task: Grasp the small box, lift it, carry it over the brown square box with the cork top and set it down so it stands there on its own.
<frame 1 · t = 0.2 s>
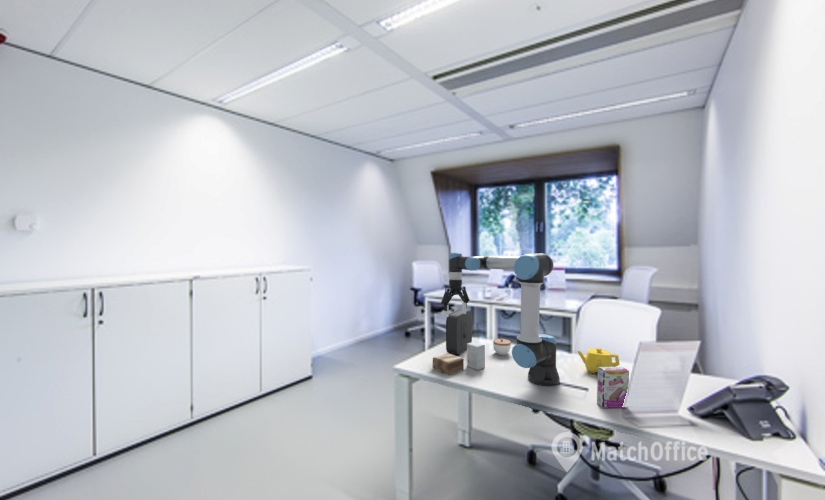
hand: (455, 315, 205), 27 cm above the table, fingers open, 13 cm apart
candy bar box: (612, 406, 150), on the table
small box: (475, 367, 196), on the table
teapot: (598, 373, 187), on the table
speaker: (460, 350, 224), on the table
brown square box: (448, 368, 193), on the table
lidded jar: (501, 353, 218), on the table
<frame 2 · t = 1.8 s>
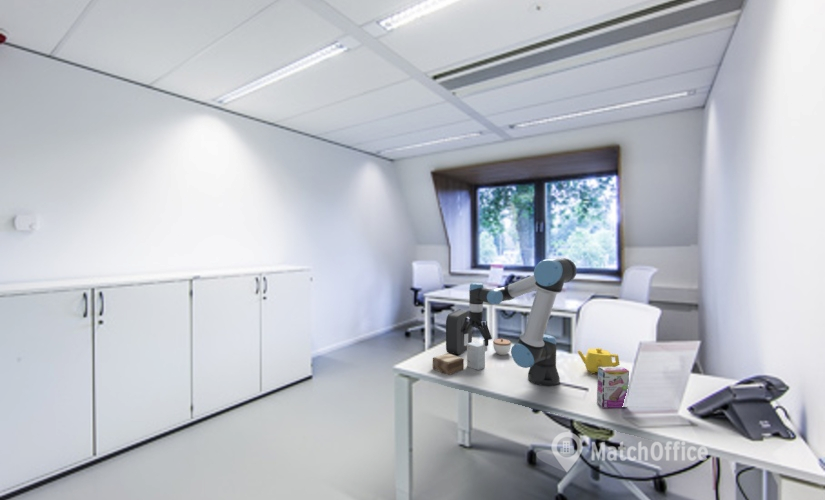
hand: (475, 348, 196), 10 cm above the table, fingers open, 13 cm apart
nothing on the table moved.
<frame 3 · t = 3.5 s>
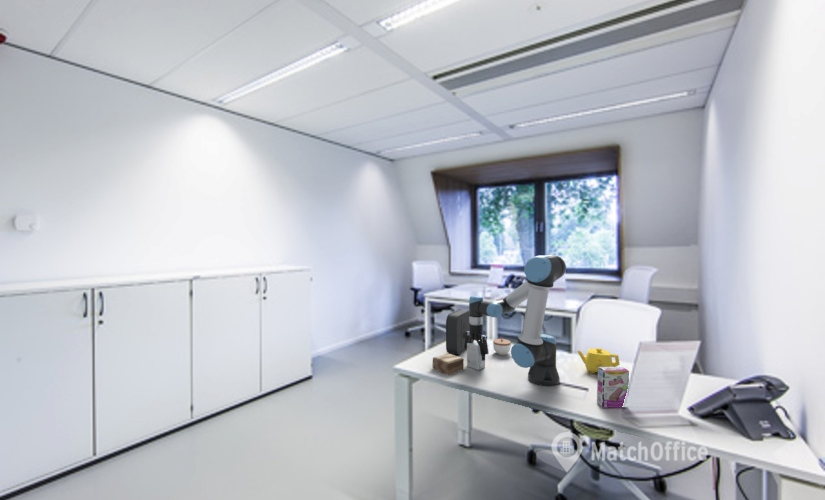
hand: (475, 363, 196), 2 cm above the table, fingers closed on small box, 8 cm apart
small box: (475, 367, 196), on the table, touching gripper
everything else where it was.
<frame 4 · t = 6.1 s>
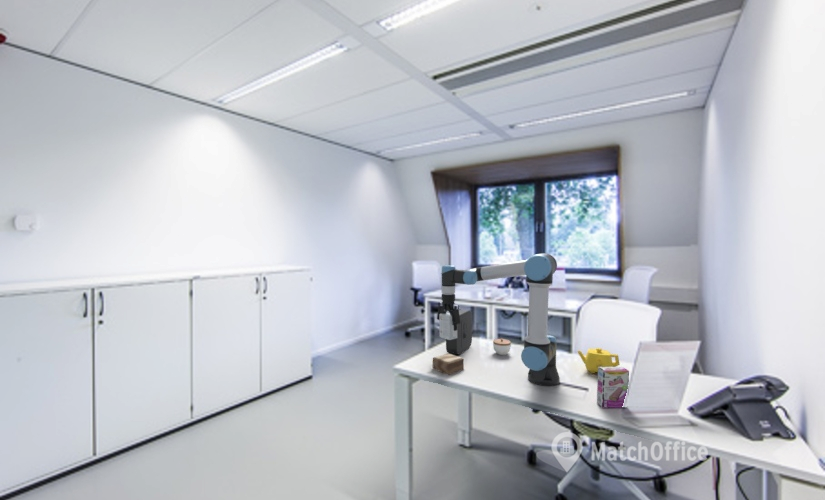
hand: (448, 334, 192), 19 cm above the table, fingers closed on small box, 8 cm apart
small box: (448, 338, 192), point 17 cm above the table, touching gripper
everything else where it was.
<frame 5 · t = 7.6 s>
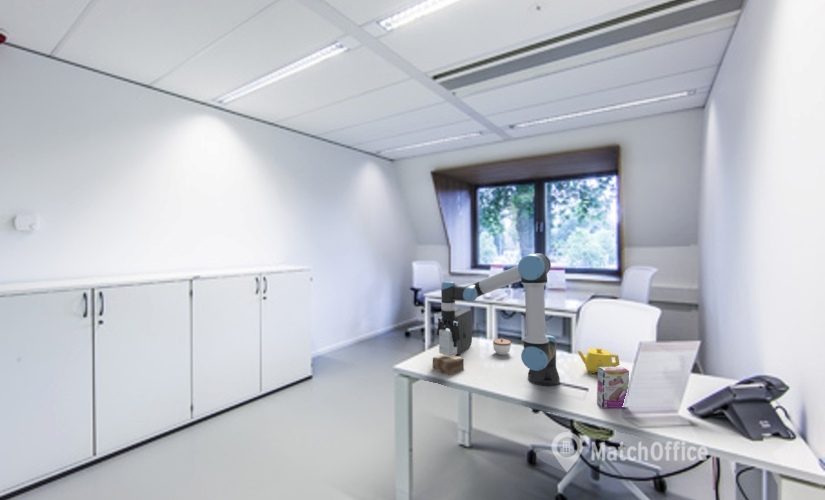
hand: (448, 350, 193), 10 cm above the table, fingers closed on small box, 8 cm apart
small box: (448, 354, 193), point 8 cm above the table, touching gripper
everything else where it was.
when the fingers open (9 cm above the table, at t = 8.7 s): small box stays where it is, resting on brown square box.
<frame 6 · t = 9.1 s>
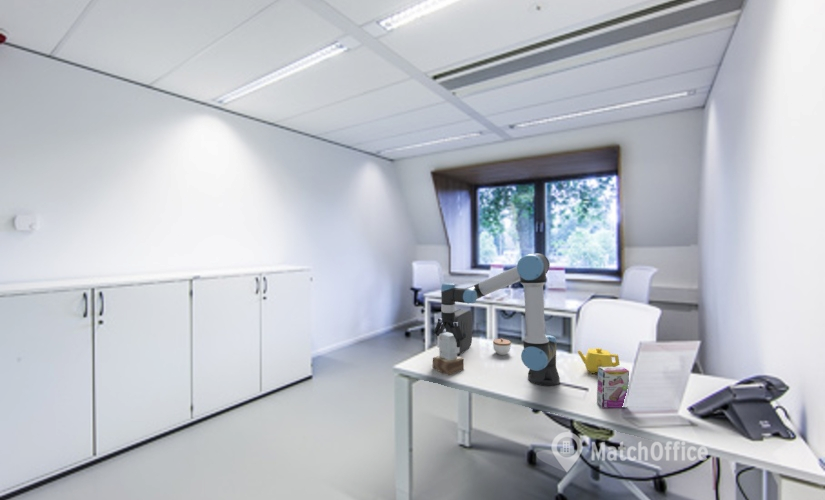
hand: (448, 349, 193), 11 cm above the table, fingers open, 13 cm apart
small box: (448, 357, 193), point 6 cm above the table, touching brown square box
everything else where it was.
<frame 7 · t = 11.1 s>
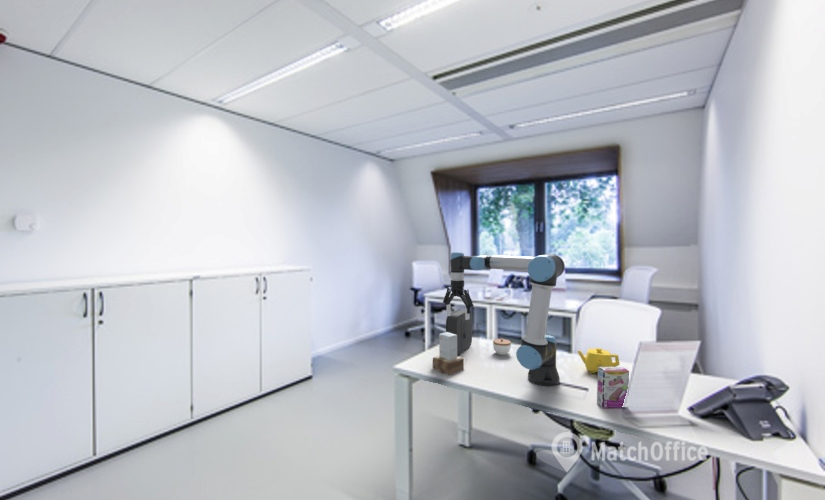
hand: (457, 317, 196), 28 cm above the table, fingers open, 13 cm apart
nothing on the table moved.
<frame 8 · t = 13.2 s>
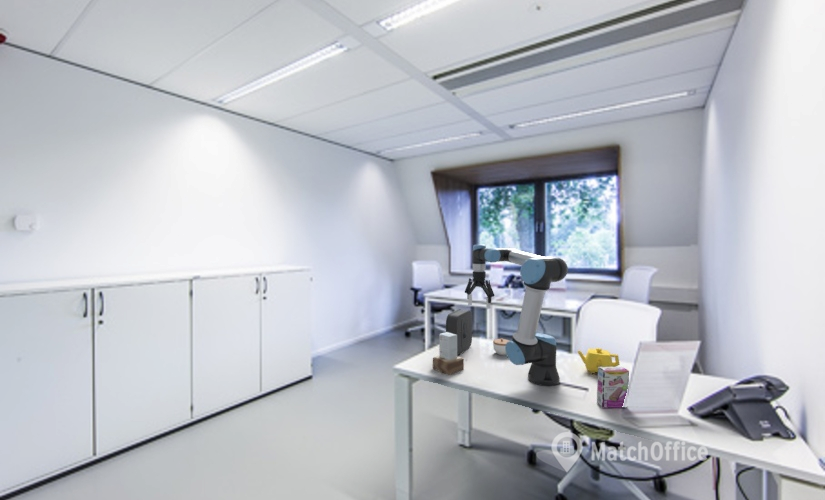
hand: (479, 306, 206), 32 cm above the table, fingers open, 13 cm apart
nothing on the table moved.
at the end: small box inside the target area on the brown square box (0.0 cm from its centre), point 6.2 cm above the brown square box's base; small box tilted 0°; the gripper is holding nothing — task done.
